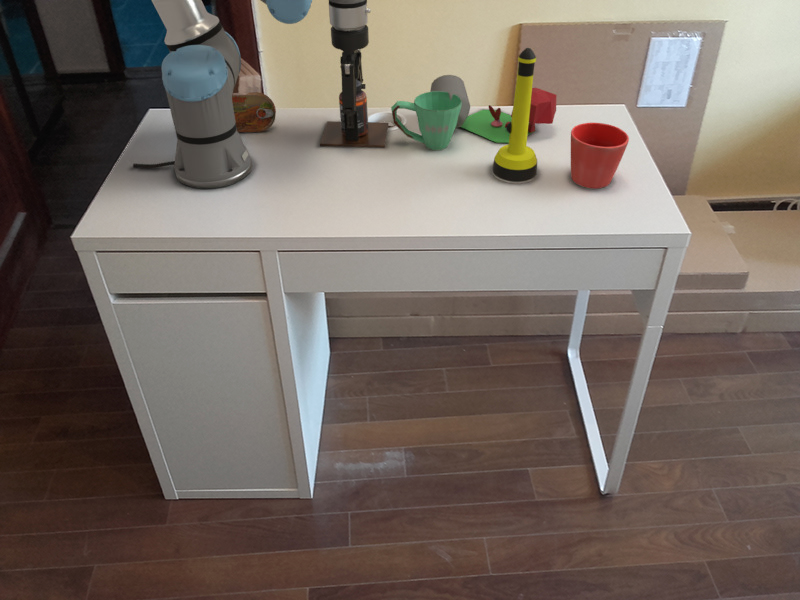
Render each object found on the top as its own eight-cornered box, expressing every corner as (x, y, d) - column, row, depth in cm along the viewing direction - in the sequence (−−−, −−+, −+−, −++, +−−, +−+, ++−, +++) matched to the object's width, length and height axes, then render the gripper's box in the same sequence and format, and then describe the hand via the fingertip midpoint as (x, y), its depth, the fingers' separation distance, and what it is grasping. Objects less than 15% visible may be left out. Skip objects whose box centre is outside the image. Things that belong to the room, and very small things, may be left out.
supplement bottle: (360, 124, 155) (358, 75, 147) (373, 134, 151) (371, 84, 144) (336, 130, 152) (333, 81, 145) (349, 141, 148) (346, 90, 141)
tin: (209, 133, 153) (202, 97, 148) (212, 127, 156) (205, 91, 150) (277, 131, 154) (272, 95, 148) (278, 125, 156) (274, 89, 151)
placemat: (320, 146, 148) (319, 143, 148) (327, 123, 156) (327, 121, 156) (384, 147, 147) (384, 145, 147) (388, 125, 156) (388, 122, 155)
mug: (459, 135, 152) (462, 91, 145) (459, 156, 144) (461, 111, 138) (393, 133, 153) (393, 90, 146) (389, 154, 145) (388, 109, 139)
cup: (426, 111, 146) (425, 73, 150) (429, 137, 155) (428, 101, 159) (471, 107, 146) (468, 70, 149) (471, 134, 154) (469, 98, 158)
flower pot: (603, 163, 141) (612, 119, 135) (628, 190, 133) (639, 144, 127) (555, 168, 140) (562, 124, 133) (577, 196, 131) (585, 150, 125)
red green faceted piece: (522, 154, 144) (527, 113, 139) (452, 124, 155) (454, 85, 150) (564, 132, 152) (570, 93, 147) (494, 105, 164) (498, 67, 158)
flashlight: (554, 41, 125) (505, 38, 127) (552, 59, 119) (500, 55, 120) (537, 163, 141) (494, 159, 143) (535, 185, 135) (489, 181, 136)
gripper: (362, 45, 128) (366, 153, 142) (373, 7, 145) (376, 107, 159) (322, 45, 128) (330, 152, 143) (337, 7, 146) (344, 107, 160)
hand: (354, 129), depth 151 cm, fingers open, 10 cm apart
